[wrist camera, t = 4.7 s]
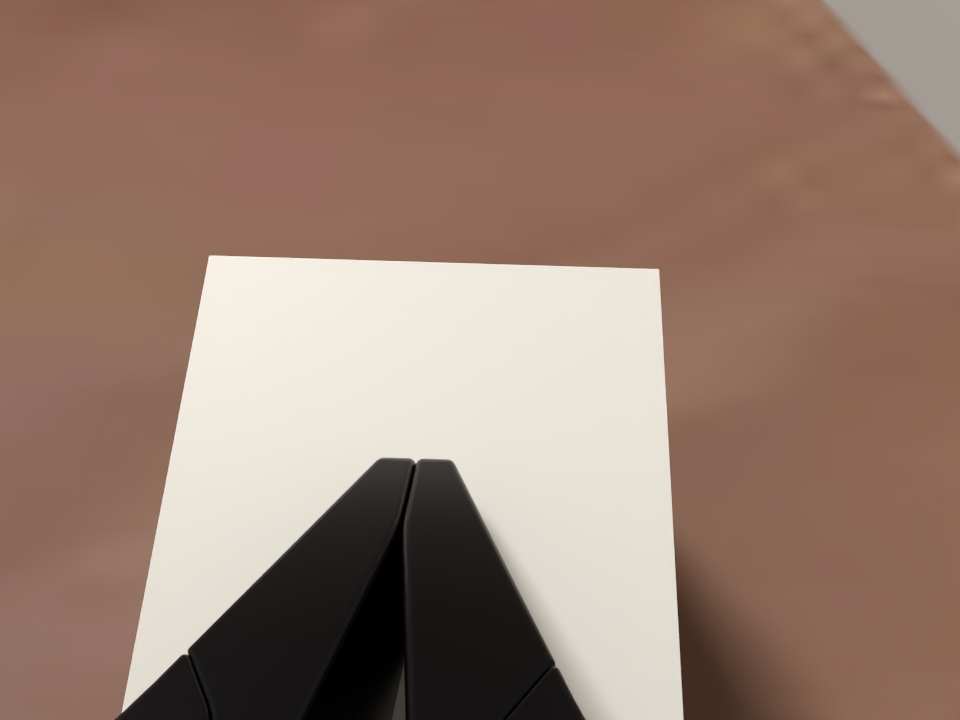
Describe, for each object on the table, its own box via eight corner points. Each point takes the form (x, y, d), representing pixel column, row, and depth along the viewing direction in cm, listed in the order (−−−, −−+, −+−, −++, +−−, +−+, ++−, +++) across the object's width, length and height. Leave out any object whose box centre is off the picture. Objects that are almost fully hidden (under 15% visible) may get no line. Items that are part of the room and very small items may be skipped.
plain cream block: (590, 732, 16) (687, 779, 8) (288, 720, 16) (113, 754, 8) (586, 440, 18) (659, 269, 10) (323, 431, 18) (209, 255, 11)
